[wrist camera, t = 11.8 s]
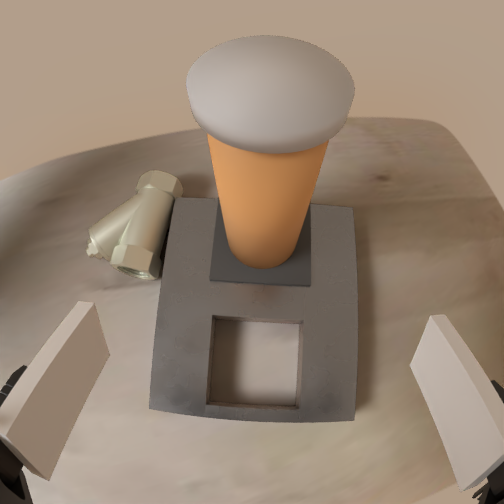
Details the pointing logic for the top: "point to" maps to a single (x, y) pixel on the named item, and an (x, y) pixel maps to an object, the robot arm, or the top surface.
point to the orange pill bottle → (267, 135)
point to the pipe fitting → (137, 227)
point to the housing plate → (257, 320)
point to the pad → (286, 273)
